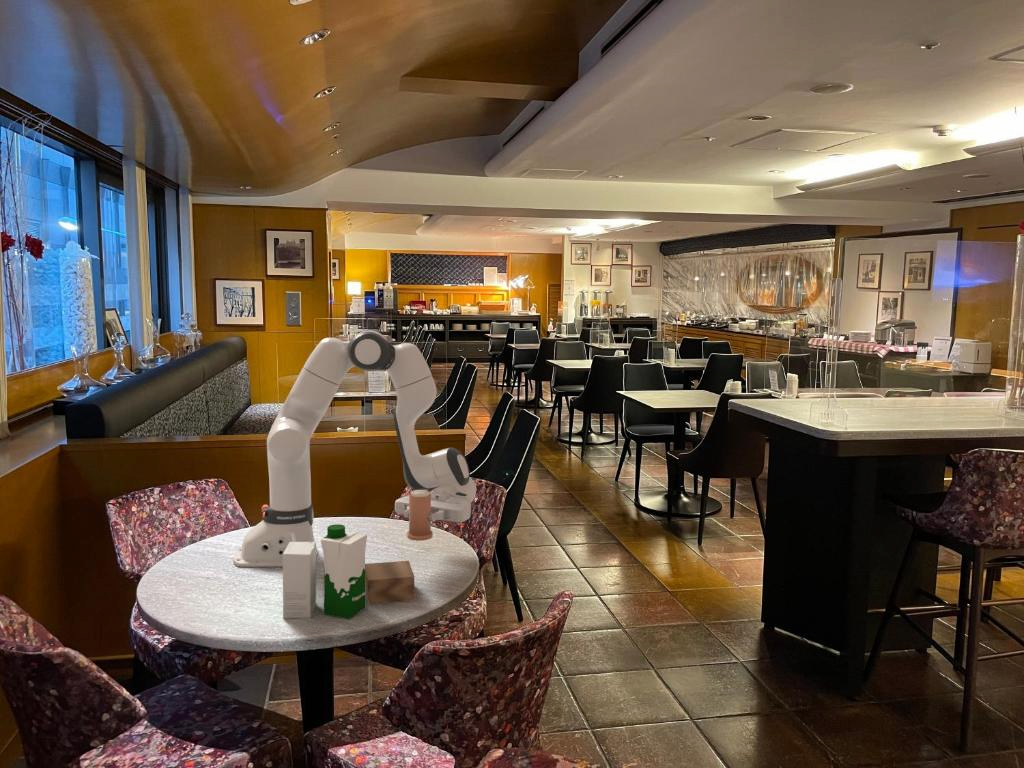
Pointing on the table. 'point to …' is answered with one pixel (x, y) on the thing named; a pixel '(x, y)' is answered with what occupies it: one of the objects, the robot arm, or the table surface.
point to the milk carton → (344, 572)
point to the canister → (419, 515)
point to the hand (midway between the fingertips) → (418, 516)
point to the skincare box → (299, 580)
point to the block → (389, 582)
